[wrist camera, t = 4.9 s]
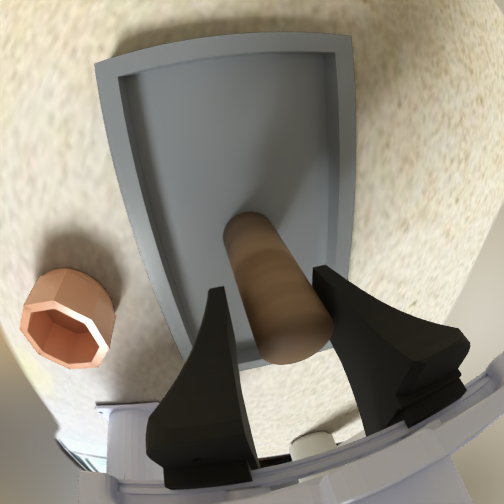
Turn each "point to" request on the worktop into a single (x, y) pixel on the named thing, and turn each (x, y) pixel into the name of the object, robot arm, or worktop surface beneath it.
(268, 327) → the pin
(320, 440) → the can
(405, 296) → the worktop surface
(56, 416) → the worktop surface
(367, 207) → the worktop surface
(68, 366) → the cup
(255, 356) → the tray
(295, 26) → the worktop surface
